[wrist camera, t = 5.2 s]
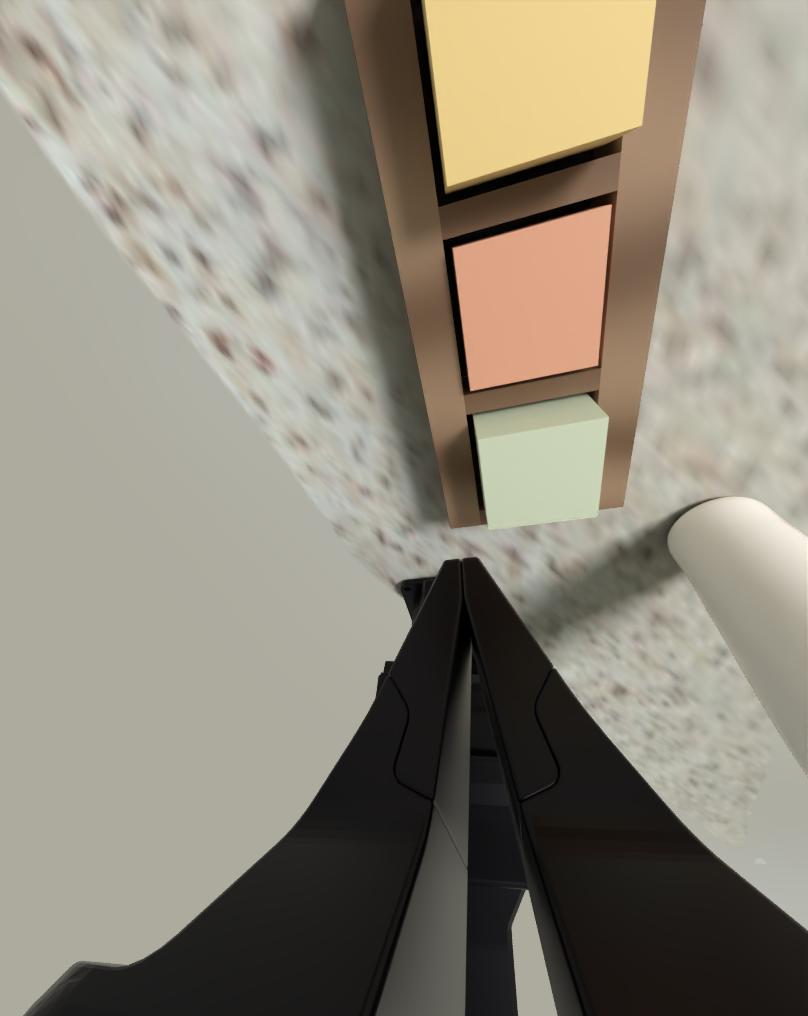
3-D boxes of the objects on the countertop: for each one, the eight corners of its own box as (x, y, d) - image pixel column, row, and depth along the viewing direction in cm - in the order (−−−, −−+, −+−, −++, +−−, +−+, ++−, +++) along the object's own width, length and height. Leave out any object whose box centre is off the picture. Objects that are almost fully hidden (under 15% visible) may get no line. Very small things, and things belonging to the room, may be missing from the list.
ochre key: (602, 146, 11) (641, 125, 9) (445, 195, 12) (447, 186, 10) (623, -148, 8) (688, -276, 6) (414, -53, 9) (407, -138, 7)
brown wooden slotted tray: (605, 480, 21) (623, 506, 19) (449, 502, 22) (450, 528, 20) (689, -225, 9) (764, -359, 7) (340, -59, 10) (317, -128, 8)
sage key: (579, 484, 19) (597, 516, 17) (482, 498, 20) (488, 530, 18) (585, 392, 16) (609, 417, 14) (472, 413, 17) (477, 439, 15)
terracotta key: (576, 348, 16) (598, 365, 14) (466, 371, 17) (470, 391, 15) (583, 208, 13) (611, 204, 11) (450, 246, 14) (452, 248, 12)
